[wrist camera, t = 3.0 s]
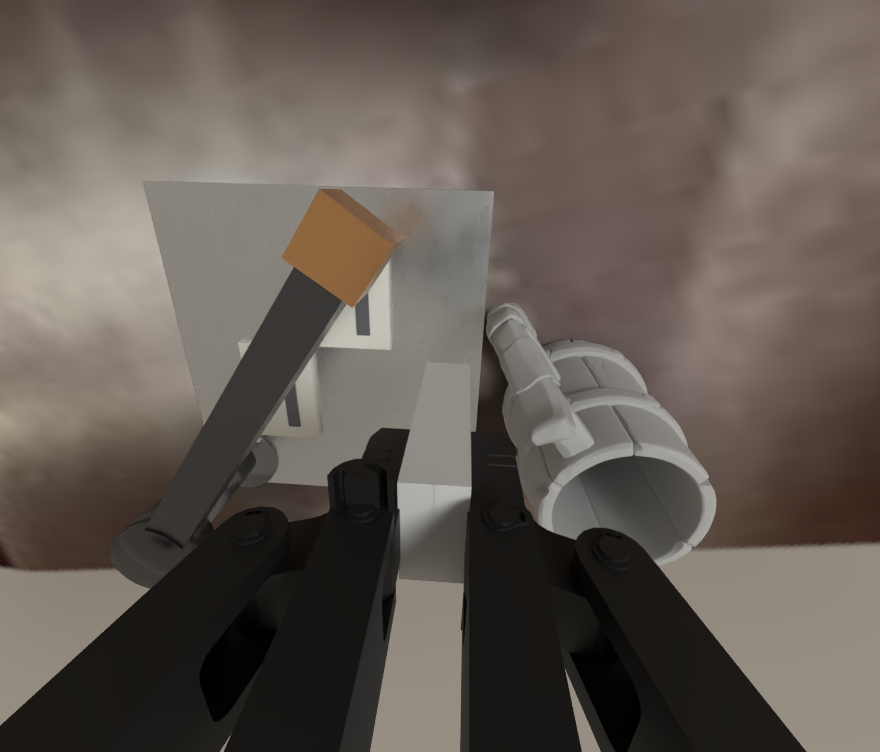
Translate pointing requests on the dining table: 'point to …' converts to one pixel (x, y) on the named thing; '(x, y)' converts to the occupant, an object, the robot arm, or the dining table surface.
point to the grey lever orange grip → (262, 377)
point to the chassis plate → (264, 273)
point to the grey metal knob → (250, 472)
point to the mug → (597, 442)
